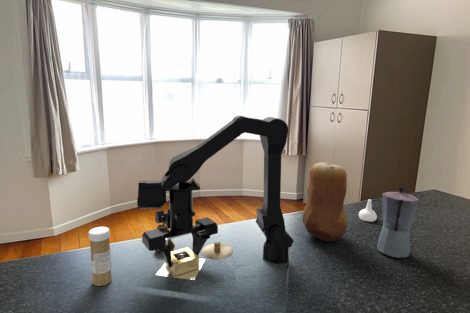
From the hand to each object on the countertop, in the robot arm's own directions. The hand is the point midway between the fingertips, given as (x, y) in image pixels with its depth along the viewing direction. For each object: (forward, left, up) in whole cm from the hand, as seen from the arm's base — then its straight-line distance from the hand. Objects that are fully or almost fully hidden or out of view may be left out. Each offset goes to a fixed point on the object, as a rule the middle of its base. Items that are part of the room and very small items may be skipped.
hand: (182, 263), depth 81 cm
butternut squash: (-38, -28, -2) cm, 47 cm away
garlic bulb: (-56, -49, -2) cm, 74 cm away
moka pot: (-58, -23, -2) cm, 62 cm away
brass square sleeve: (0, 0, -1) cm, 1 cm away
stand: (-7, -10, -2) cm, 12 cm away
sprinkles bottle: (+17, +9, -2) cm, 19 cm away
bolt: (+11, -12, -2) cm, 17 cm away
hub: (0, 0, -2) cm, 2 cm away
